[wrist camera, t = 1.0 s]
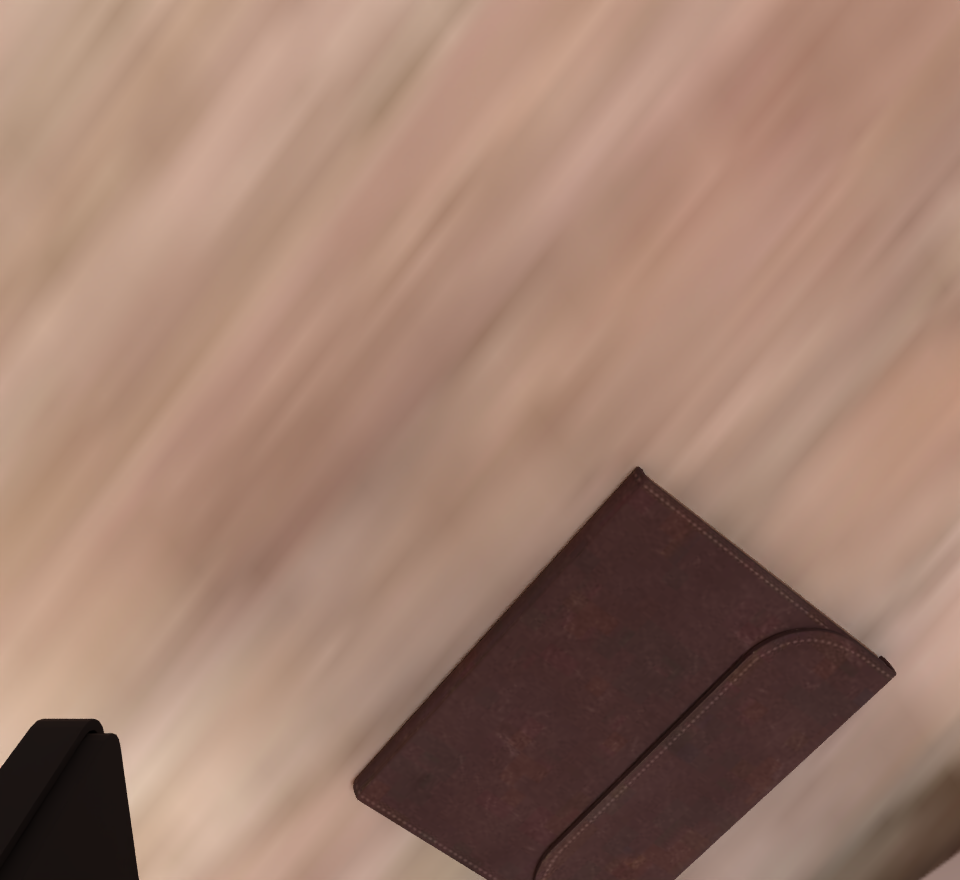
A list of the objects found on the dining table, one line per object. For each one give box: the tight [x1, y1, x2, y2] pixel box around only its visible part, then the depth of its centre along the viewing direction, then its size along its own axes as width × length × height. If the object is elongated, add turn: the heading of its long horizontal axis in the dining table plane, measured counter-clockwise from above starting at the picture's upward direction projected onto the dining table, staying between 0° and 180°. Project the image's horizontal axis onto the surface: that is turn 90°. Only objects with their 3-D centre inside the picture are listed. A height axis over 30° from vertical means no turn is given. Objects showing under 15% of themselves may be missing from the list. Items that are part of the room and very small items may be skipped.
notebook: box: [353, 467, 896, 880], centre depth 39 cm, size 15×20×2 cm
